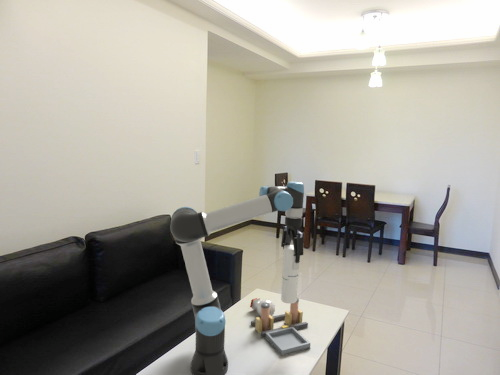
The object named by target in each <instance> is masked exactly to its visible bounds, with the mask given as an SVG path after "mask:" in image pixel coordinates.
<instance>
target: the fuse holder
mask: <svg viewBox="0 0 500 375" xmlns="http://www.w3.org/2000/svg"><path fill="white" fill-rule="evenodd" d="M303 313H304V312H303V311H302V310H301V309H300V308H298V320H297V324H294V325H292V324H291V323H292V314H291V313H290V310H286V311H285V312H284V314H279V315H274V316H273V315H272V316H271V315H269V327H268V331H262V320H261V317H260V316H257V317H255V320H251V321H250V326H251V327H255V330H256V331H257V332H258V334H260V337H261V338H266V333H268V332H272V331H276V330H281V329H285V328H289V327H294V328H295V329H296V330H297V331H298V330H300V329H305V328H309V326H308V325H309V322H307V321H304V322H303ZM283 320H284V323H285V325H282V326H281V327H277V328H274V324H275V322H278V321H283Z"/></svg>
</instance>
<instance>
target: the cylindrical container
mask: <svg viewBox="0 0 500 375" xmlns="http://www.w3.org/2000/svg"><path fill="white" fill-rule="evenodd" d="M293 255H295V253H294V246H293V244H290V245H285V246H284V249H283V259H282V261H283V262H282V276H281V278H282V279H281V295H280V296H281V297H280V300H281V302H283V303H285V304H290V305H291V303H295V302H296V301H297V298H298V287H299V286H298V284H299V272H300V270H299V269H297V270H293Z"/></svg>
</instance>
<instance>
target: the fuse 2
mask: <svg viewBox="0 0 500 375" xmlns="http://www.w3.org/2000/svg"><path fill="white" fill-rule="evenodd" d="M299 300H300V298H298V297H297V301H296V302H295V303H291V304H290V306H289V312H290V313H291V314H292V323H291V325H294V324H298V322H297V320H298V309H299V302H300V301H299Z"/></svg>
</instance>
